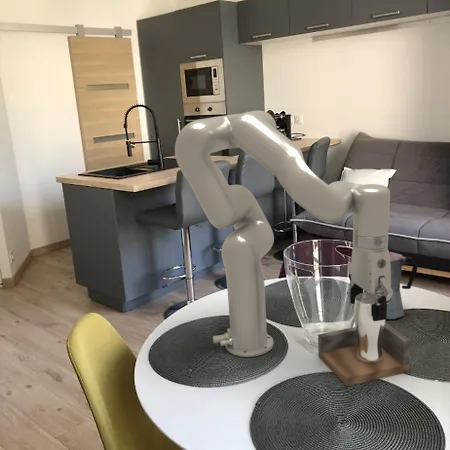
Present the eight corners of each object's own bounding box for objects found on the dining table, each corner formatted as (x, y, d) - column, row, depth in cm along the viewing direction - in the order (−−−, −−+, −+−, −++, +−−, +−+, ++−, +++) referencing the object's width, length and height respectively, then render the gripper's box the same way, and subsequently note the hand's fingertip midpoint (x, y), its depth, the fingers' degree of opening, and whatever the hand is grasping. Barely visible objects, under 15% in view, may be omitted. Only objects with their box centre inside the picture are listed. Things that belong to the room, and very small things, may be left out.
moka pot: (369, 302, 155) (369, 239, 149) (421, 312, 146) (423, 246, 140) (357, 314, 147) (357, 249, 142) (411, 326, 138) (413, 256, 133)
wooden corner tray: (346, 386, 113) (346, 353, 111) (318, 356, 126) (317, 327, 124) (409, 371, 117) (410, 340, 115) (375, 344, 130) (376, 315, 128)
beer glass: (386, 365, 117) (387, 304, 113) (354, 363, 118) (354, 304, 114) (383, 350, 123) (384, 292, 119) (353, 349, 125) (353, 292, 121)
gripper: (408, 249, 106) (404, 324, 111) (364, 228, 122) (362, 294, 127) (376, 254, 104) (373, 330, 109) (336, 232, 120) (335, 299, 125)
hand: (367, 311), depth 118 cm, fingers open, 9 cm apart
